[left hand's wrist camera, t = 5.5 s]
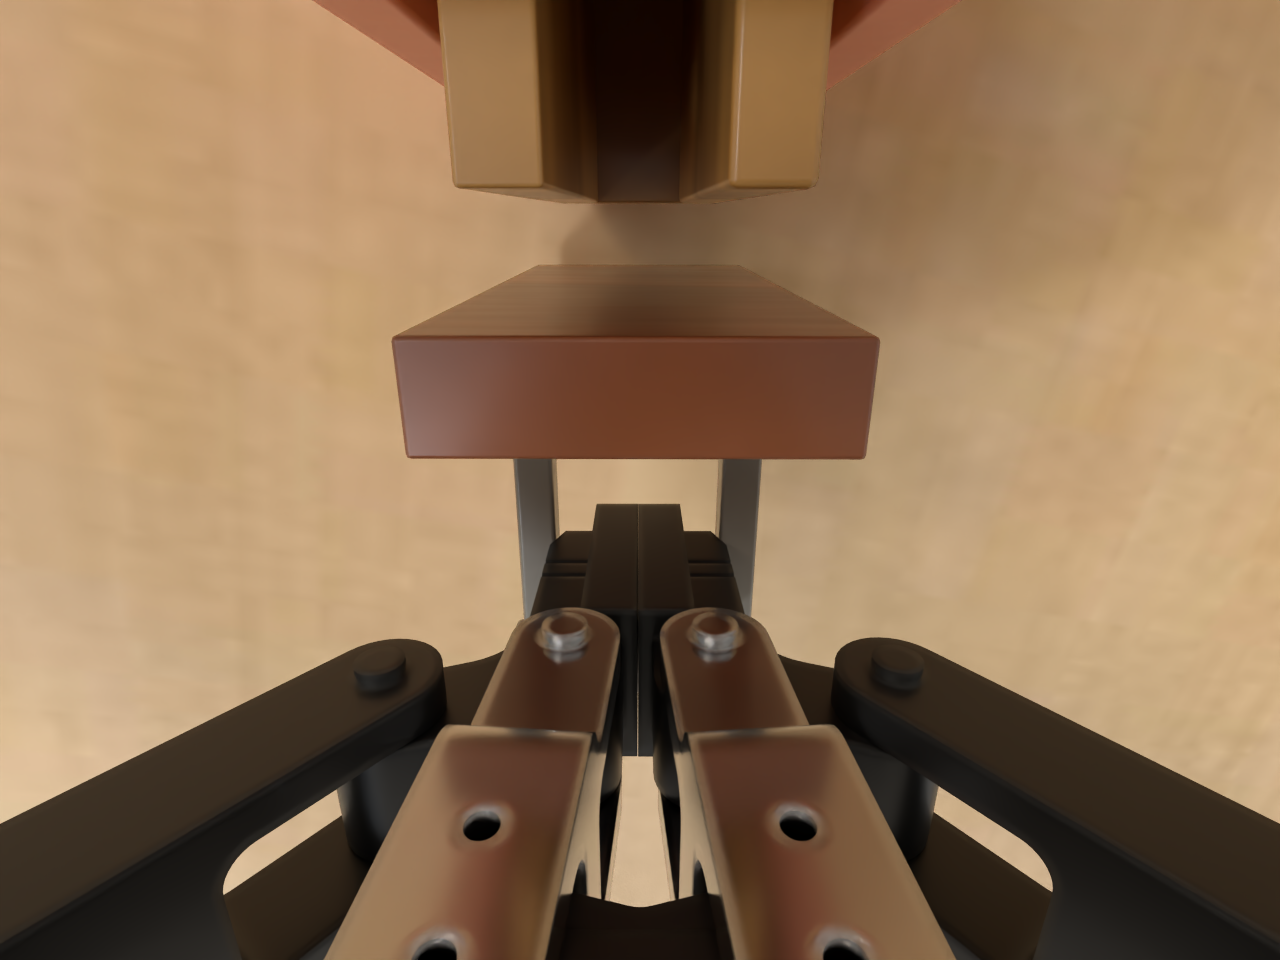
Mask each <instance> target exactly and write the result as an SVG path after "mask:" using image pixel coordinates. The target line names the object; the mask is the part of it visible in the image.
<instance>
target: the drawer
mask: <svg viewBox="0 0 1280 960" xmlns="http://www.w3.org/2000/svg"><path fill="white" fill-rule="evenodd" d="M833 5H834V0H437V7H438V18H439V29H440V41H441V52H442V64H443V75H444V86H445V98H446V109H447V121H448V132H449V144H450V155H451V166H452V178H453V183H454V185H455V187H458V188H461V189H468V190H475V191H482V192H489V193H496V194H502V195H509V196H516V197H523V198H530V199H537V200H544V201H551V202H558V203H569V204H714V203H719V202H726V201H732V200H739V199H746V198H752V197H759V196H765V195H772V194H778V193H785V192H792V191H798V190H805V189H809V188H811V187H814V186H815V185H816V182H817V180H818V178H819V166H820V155H821V143H822V132H823V120H824V109H825V97H826V86H827V74H828V63H829V51H830V39H831V28H832V16H833ZM392 348H393V356H394V364H395V372H396V380H397V388H398V396H399V403H400V411H401V419H402V427H403V435H404V443H405V451H406V455H407V457H408V458H412V459H513V461H514V476H515V491H516V506H517V520H518V535H519V550H520V565H521V579H522V594H523V609H524V619H522V620H520V621H519V622H518V624H517V626H518V625H519V624H520V623H521V622H522V621H524V620H525V619H527V618H529V617H530V614H531V611H532V607H533V604H534V600H535V596H536V593H537V589H538V586H539V582H540V579H541V577H542V571H543V568H544V564H545V563H546V557H547V553H548V550H549V546H550V544H551V543H552V542H554V541H555V540H556V539H557V538H558V537H560V531H559V509H558V486H557V463H556V459H719V464H718V486H717V508H716V530H715V535H716V536H717V537H718V538H719V540H721V541H723V542H724V543H725V544H726V545H727V549H728V553H729V556H730V560H731V564H732V568H733V571H734V577H735V579H736V583H737V586H738V590H739V594H740V598H741V601H742V605H743V609H744V613H745V615H748V616H750V617H751V609H752V595H753V580H754V566H755V551H756V537H757V522H758V508H759V493H760V478H761V464H762V459H864V458H865V456H866V451H867V443H868V435H869V427H870V419H871V411H872V403H873V395H874V387H875V379H876V371H877V363H878V355H879V348H880V340H879V338H878V337H876V336H874V335H872V334H870V333H869V332H867V331H865V330H863V329H861V328H859V327H857V326H855V325H853V324H851V323H849V322H847V321H845V320H843V319H841V318H840V317H838V316H836V315H834V314H832V313H830V312H828V311H826V310H824V309H822V308H820V307H818V306H816V305H814V304H813V303H811V302H809V301H807V300H805V299H803V298H801V297H799V296H797V295H795V294H793V293H791V292H789V291H787V290H786V289H784V288H782V287H780V286H778V285H776V284H774V283H772V282H770V281H768V280H766V279H764V278H762V277H760V276H758V275H757V274H755V273H753V272H751V271H749V270H747V269H745V268H743V267H741V266H739V265H537V266H535V267H533V268H531V269H529V270H527V271H525V272H523V273H521V274H519V275H517V276H515V277H513V278H511V279H509V280H507V281H505V282H503V283H501V284H499V285H497V286H495V287H493V288H491V289H489V290H487V291H485V292H483V293H481V294H479V295H477V296H475V297H473V298H471V299H469V300H467V301H465V302H463V303H461V304H459V305H457V306H455V307H452V308H450V309H448V310H446V311H444V312H442V313H440V314H438V315H436V316H434V317H432V318H430V319H428V320H426V321H424V322H422V323H420V324H418V325H416V326H414V327H412V328H410V329H408V330H406V331H404V332H402V333H400V334H398V335H396V336H394V337H393V338H392ZM517 626H516V627H517Z"/></svg>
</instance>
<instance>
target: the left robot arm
mask: <svg viewBox="0 0 1280 960" xmlns="http://www.w3.org/2000/svg"><path fill="white" fill-rule="evenodd" d="M637 708H638V756H653V773H654V780H655V782H656V785H657V787H658V810H659V817H660V825H661V833H662V840H663V848H664V856H665V863H666V871H667V879H668V886H669V894H670V901H669V902H665V903H661V904H657V905H653V906H648V907H632V906H627V905H623V904H619V903H615V902H611V901H610V894H611V887H612V879H613V871H614V864H615V856H616V848H617V841H618V833H619V825H620V818H621V810H622V756H637ZM938 786H939V787H941V788H942V789H944V790H946V791H947V792H949V793H950V794H952V795H953V796H955V797H956V798H958V799H960V800H961V801H963V802H964V803H966V804H967V805H969V806H970V807H972V808H973V809H975V810H977V811H978V812H980V813H981V814H983V815H984V816H986V817H987V818H989V819H991V820H992V821H994V822H995V823H997V824H998V825H1000V826H1001V827H1003V828H1005V829H1006V830H1008V831H1009V832H1011V833H1012V834H1014V835H1015V836H1017V837H1018V838H1020V839H1021V840H1023V841H1024V842H1025V843H1027V844H1028V845H1029V846H1030V847H1031V848H1032V849H1033V850H1034V851H1035V852H1036V853H1037V854H1038V855H1039V856H1040V858H1041V859H1042V860H1043V862H1044V863H1045V865H1046V867H1047V868H1048V871H1049V873H1050V875H1051V879H1052V882H1053V892H1051V891H1049V890H1048V889H1046V888H1045V887H1043V886H1042V885H1040V884H1039V883H1037V882H1036V881H1034V880H1033V879H1031V878H1030V877H1028V876H1027V875H1025V874H1024V873H1022V872H1021V871H1020V870H1018V869H1017V868H1015V867H1014V866H1012V865H1011V864H1009V863H1008V862H1006V861H1005V860H1003V859H1002V858H1000V857H999V856H997V855H996V854H994V853H993V852H992V851H990V850H989V849H987V848H986V847H984V846H983V845H981V844H980V843H978V842H977V841H975V840H974V839H972V838H971V837H969V836H968V835H966V834H965V833H964V832H962V831H961V830H959V829H958V828H956V827H955V826H953V825H952V824H950V823H949V822H947V821H946V820H944V819H943V818H941V817H940V816H938V815H937V814H936V813H934V812H933V811H934V806H935V801H936V796H937V791H938ZM336 789H337V793H338V798H339V803H340V808H341V813H342V816H340V817H339V818H337V819H336V820H334V821H333V822H331V823H330V824H328V825H327V826H326V827H324V828H323V829H321V830H320V831H318V832H317V833H315V834H314V835H312V836H311V837H309V838H308V839H306V840H305V841H303V842H302V843H300V844H299V845H298V846H296V847H295V848H293V849H292V850H290V851H289V852H287V853H286V854H284V855H283V856H281V857H280V858H278V859H277V860H275V861H274V862H272V863H271V864H270V865H268V866H267V867H265V868H264V869H262V870H261V871H259V872H258V873H256V874H255V875H253V876H252V877H250V878H249V879H247V880H246V881H244V882H243V883H241V884H240V885H239V886H237V887H236V888H234V889H233V890H231V891H230V892H228V893H226V894H225V895H223V884H224V881H225V878H226V875H227V873H228V871H229V869H230V868H231V866H232V864H233V863H234V862H235V860H236V859H237V858H238V857H239V856H240V854H241V853H242V852H243V851H244V850H246V849H247V848H248V847H249V846H250V845H251V844H253V843H254V842H256V841H257V840H259V839H260V838H262V837H263V836H265V835H266V834H268V833H269V832H271V831H273V830H274V829H276V828H277V827H279V826H280V825H282V824H283V823H285V822H287V821H288V820H290V819H291V818H293V817H294V816H296V815H297V814H299V813H300V812H302V811H304V810H305V809H307V808H308V807H310V806H311V805H313V804H314V803H316V802H318V801H319V800H321V799H322V798H324V797H325V796H327V795H328V794H330V793H332V792H333V791H335V790H336ZM0 960H1280V824H1279V823H1277V822H1275V821H1273V820H1271V819H1269V818H1267V817H1265V816H1263V815H1261V814H1259V813H1257V812H1255V811H1253V810H1251V809H1249V808H1247V807H1245V806H1243V805H1241V804H1239V803H1237V802H1235V801H1233V800H1231V799H1229V798H1226V797H1224V796H1222V795H1220V794H1218V793H1216V792H1214V791H1212V790H1210V789H1208V788H1206V787H1204V786H1202V785H1200V784H1198V783H1196V782H1194V781H1192V780H1190V779H1188V778H1186V777H1184V776H1182V775H1180V774H1178V773H1176V772H1174V771H1172V770H1170V769H1168V768H1166V767H1164V766H1162V765H1160V764H1158V763H1156V762H1154V761H1152V760H1150V759H1148V758H1146V757H1144V756H1142V755H1140V754H1138V753H1136V752H1134V751H1132V750H1130V749H1128V748H1126V747H1124V746H1122V745H1120V744H1118V743H1116V742H1114V741H1112V740H1110V739H1108V738H1105V737H1103V736H1101V735H1099V734H1097V733H1095V732H1093V731H1091V730H1089V729H1087V728H1085V727H1083V726H1081V725H1079V724H1077V723H1075V722H1073V721H1071V720H1069V719H1067V718H1065V717H1063V716H1061V715H1059V714H1057V713H1055V712H1053V711H1051V710H1049V709H1047V708H1045V707H1043V706H1041V705H1039V704H1037V703H1035V702H1033V701H1031V700H1029V699H1027V698H1025V697H1023V696H1021V695H1019V694H1017V693H1015V692H1013V691H1011V690H1009V689H1007V688H1005V687H1003V686H1001V685H999V684H997V683H995V682H993V681H991V680H989V679H986V678H984V677H982V676H980V675H978V674H976V673H974V672H972V671H970V670H968V669H966V668H964V667H962V666H960V665H958V664H956V663H954V662H952V661H950V660H948V659H946V658H944V657H942V656H940V655H938V654H936V653H934V652H932V651H930V650H928V649H926V648H923V647H921V646H919V645H916V644H913V643H910V642H906V641H902V640H898V639H891V638H879V637H878V638H865V639H859V640H856V641H852V642H850V643H848V644H846V645H845V646H843V647H842V648H841V649H840V650H839V651H838V653H837V655H836V658H835V665H834V668H830V667H825V666H820V665H815V664H810V663H805V662H801V661H796V660H793V659H790V658H787V657H784V656H781V655H779V654H777V652H776V650H775V647H774V645H773V643H772V641H771V639H770V636H769V634H768V632H767V631H766V629H765V628H764V627H763V626H762V625H761V624H760V623H759V622H758V621H756V620H755V619H753V618H751V617H750V616H748V615H745V613H744V609H743V605H742V601H741V598H740V594H739V590H738V586H737V583H736V579H735V577H734V571H733V568H732V564H731V560H730V556H729V553H728V549H727V545H726V544H725V543H724V542H723V541H721V540H719V538H718V537H717V536H716V535H714V534H713V533H712V532H711V531H684V530H683V523H682V516H681V509H680V504H597V505H596V512H595V518H594V524H593V531H565V532H564V533H563V534H562V535H561V536H560V537H558V538H557V539H556V540H555V541H554V542H552V543H551V544H550V546H549V550H548V553H547V557H546V563H545V564H544V568H543V571H542V577H541V579H540V582H539V586H538V589H537V593H536V596H535V600H534V604H533V607H532V611H531V614H530V617H529V618H527V619H525V620H524V621H522V622H521V623H520V624H519V625H518V626H517V627H516V628H515V629H514V631H513V632H512V634H511V636H510V639H509V641H508V643H507V645H506V648H505V650H504V651H502V652H500V653H498V654H495V655H493V656H490V657H488V658H485V659H481V660H477V661H473V662H469V663H464V664H459V665H454V666H449V667H444V668H443V662H442V658H441V655H440V653H439V652H438V651H437V650H436V649H435V648H434V647H432V646H431V645H429V644H426V643H424V642H421V641H417V640H410V639H389V640H382V641H377V642H373V643H369V644H366V645H363V646H360V647H357V648H355V649H353V650H350V651H348V652H346V653H344V654H342V655H340V656H338V657H336V658H334V659H332V660H330V661H328V662H326V663H324V664H322V665H320V666H318V667H316V668H314V669H312V670H310V671H308V672H306V673H304V674H302V675H300V676H298V677H296V678H294V679H292V680H290V681H288V682H286V683H284V684H282V685H280V686H278V687H276V688H274V689H272V690H269V691H267V692H265V693H263V694H261V695H259V696H257V697H255V698H253V699H251V700H249V701H247V702H245V703H243V704H241V705H239V706H237V707H235V708H233V709H231V710H229V711H227V712H225V713H223V714H221V715H219V716H217V717H215V718H213V719H211V720H209V721H207V722H205V723H203V724H201V725H199V726H197V727H195V728H193V729H191V730H189V731H187V732H185V733H183V734H181V735H179V736H177V737H175V738H173V739H171V740H169V741H167V742H165V743H163V744H161V745H159V746H157V747H154V748H152V749H150V750H148V751H146V752H144V753H142V754H140V755H138V756H136V757H134V758H132V759H130V760H128V761H126V762H124V763H122V764H120V765H118V766H116V767H114V768H112V769H110V770H108V771H106V772H104V773H102V774H100V775H98V776H96V777H94V778H92V779H90V780H88V781H86V782H84V783H82V784H80V785H78V786H76V787H74V788H72V789H70V790H68V791H66V792H64V793H62V794H60V795H58V796H56V797H54V798H52V799H50V800H48V801H46V802H44V803H42V804H39V805H37V806H35V807H33V808H31V809H29V810H27V811H25V812H23V813H21V814H19V815H17V816H15V817H13V818H11V819H9V820H7V821H5V822H3V823H1V824H0Z"/></svg>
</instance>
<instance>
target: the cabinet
mask: <svg viewBox="0 0 1280 960" xmlns="http://www.w3.org/2000/svg"><path fill="white" fill-rule="evenodd" d="M313 1H314V2H316V3H317V4H319V5H320V6H322V7H323V8H325V9H327V10H328V11H330V12H331V13H333V14H334V15H336V16H337V17H339V18H340V19H342V20H343V21H345V22H346V23H348V24H350V25H351V26H353V27H354V28H356V29H357V30H359V31H360V32H362V33H363V34H365V35H366V36H368V37H369V38H371V39H373V40H374V41H376V42H377V43H379V44H380V45H382V46H383V47H385V48H386V49H388V50H389V51H391V52H392V53H394V54H395V55H397V56H399V57H400V58H402V59H403V60H405V61H406V62H408V63H409V64H411V65H412V66H414V67H415V68H417V69H418V70H420V71H422V72H423V73H425V74H426V75H428V76H429V77H431V78H432V79H434V80H435V81H437V82H438V83H440V84H441V85H443V86H444V75H443V64H442V52H441V41H440V29H439V18H438V7H437V0H313ZM960 1H961V0H834V5H833V16H832V28H831V39H830V51H829V63H828V74H827V86H826V91H827V90H828V89H830V88H831V87H833V86H834V85H836V84H837V83H839V82H840V81H842V80H843V79H845V78H846V77H848V76H849V75H851V74H852V73H854V72H855V71H857V70H858V69H860V68H861V67H863V66H864V65H866V64H867V63H869V62H870V61H872V60H873V59H875V58H876V57H878V56H879V55H881V54H882V53H884V52H885V51H887V50H888V49H890V48H891V47H893V46H894V45H896V44H897V43H899V42H900V41H902V40H903V39H905V38H906V37H908V36H909V35H910V34H912V33H913V32H915V31H916V30H918V29H919V28H921V27H922V26H924V25H925V24H927V23H928V22H930V21H931V20H933V19H934V18H936V17H937V16H939V15H940V14H942V13H943V12H945V11H946V10H948V9H949V8H951V7H952V6H954V5H955V4H957V3H958V2H960Z"/></svg>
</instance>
